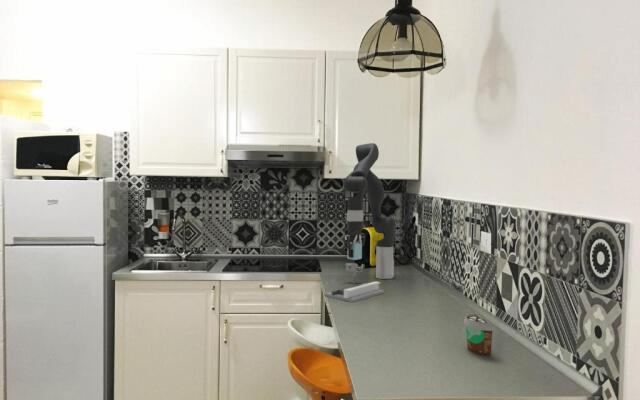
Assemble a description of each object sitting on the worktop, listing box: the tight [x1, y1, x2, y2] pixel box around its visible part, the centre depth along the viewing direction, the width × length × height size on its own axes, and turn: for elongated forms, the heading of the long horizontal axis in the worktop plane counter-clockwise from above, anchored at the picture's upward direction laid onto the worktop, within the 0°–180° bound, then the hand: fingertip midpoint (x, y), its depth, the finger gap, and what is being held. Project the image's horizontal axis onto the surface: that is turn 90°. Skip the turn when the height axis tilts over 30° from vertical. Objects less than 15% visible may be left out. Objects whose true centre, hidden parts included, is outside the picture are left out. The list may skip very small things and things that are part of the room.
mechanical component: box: [344, 262, 365, 285], centre depth 239 cm, size 3×10×10 cm, turn 78°
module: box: [346, 243, 363, 261], centre depth 215 cm, size 5×4×7 cm
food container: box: [463, 312, 494, 357], centre depth 144 cm, size 12×6×10 cm, turn 5°
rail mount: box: [324, 281, 385, 303], centre depth 215 cm, size 24×16×5 cm, turn 138°
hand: (354, 256), depth 215 cm, fingers closed on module, 5 cm apart
